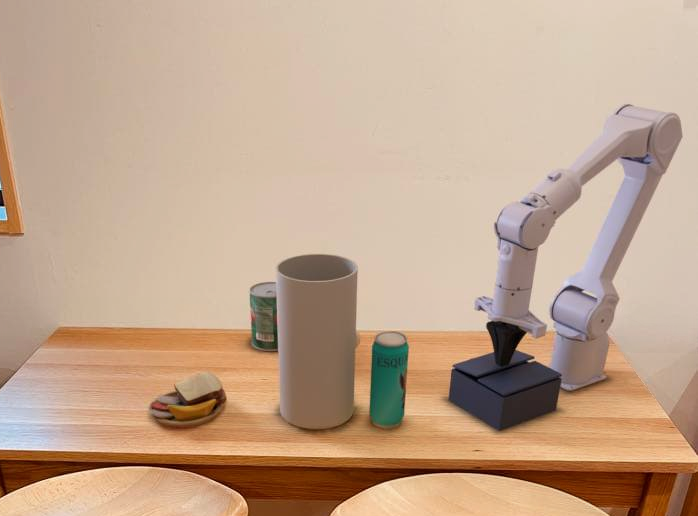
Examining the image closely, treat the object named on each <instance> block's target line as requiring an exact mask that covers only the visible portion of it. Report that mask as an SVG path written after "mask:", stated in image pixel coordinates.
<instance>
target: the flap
mask: <svg viewBox="0 0 698 516" xmlns="http://www.w3.org/2000/svg"><path fill="white" fill-rule="evenodd" d="M534 359H536V357H535V356H534V355H531V354H529V353H525V352H522V351H520V350H517V349H516V350H515V352H514V354H513V356H512V359H511V361H510V364H507V365H504V366H499V365H497V364H496V363H495V356H494V351H492V352H489V353H485V354H482V355H479V356H475V357H473V358H470V359H466V360H464V361H460V362H456V363H454V364H452V366H451V367H452V368H453V369H454V368H456V369H459V370H461V371H464V372H466V373H468V374H471V375H473V376H476V377H479V376H483V375H486V374H489V373H492V372H495V371H498V370H501V369H504V368H507V367H510V366H513V365H517V364H520V363H523V362H526V361H528V362H530V361H533V360H534Z"/></svg>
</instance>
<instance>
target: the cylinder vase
mask: <svg viewBox="0 0 698 516" xmlns="http://www.w3.org/2000/svg"><path fill="white" fill-rule="evenodd" d="M358 268H359V266H358V264H357V263H356V262H355V261H354V260H352V259H350V258H348V257H345V256H341V255H337V254H330V253H307V254H305V253H304V254H300V255H294V256H290V257H287V258H285V259H283V260H281V261H279V262H278V263H277V264H276V266H275V282H276V295H277V328H278V351H277V354H278V355H277V356H278V359H277V361H278V390H279V412H280V414H281V417H282V418H283V419H284V421H286V422H287V423H289V424H291V425H293V426H295V427H298V428H303V429H306V430H307V429H308V430H326V429H331V428H332V429H333V428H335V427H339V426H341V425H342V424H344V423H346V422H347V421H348V420H350V418H351V417H352V416H353V414H354V411H355V381H356V380H355V377H356V349H355V346H356V330H357V309H358V307H357V306H358V273H359V272H358V271H359V269H358Z"/></svg>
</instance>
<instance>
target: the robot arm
mask: <svg viewBox="0 0 698 516" xmlns="http://www.w3.org/2000/svg"><path fill="white" fill-rule="evenodd" d="M602 128H603V129H602V132H601V133H600V134H599V136H597V137H596V138H595V139H594V141H592V142H591V144H590V145H589V146H588V147H587V148H586V149H585V150H584V151H583V152H582V153H581V154H580V155H579V156H578V157H577V158H576V159H575V160H574V162H573V163H571V164H570V166H569V167H568V168H567V169H566V168H556V169H554V170H551V171H550V172H549V173H548V174H547V175H546V178H544V179H543V180H542V181H541V182H540V183H539V184H538V185H537V186H535V187H534V188H533V189H531V191H530V192H529V193H527V195H525V197H523V198H522V199H521V200H520V201H513V202H511V203H509V204H506V205H504V207H503V208H502V209H501V210H500V212H499V213H498V216H497V219H496V221H495V222H494V223H493V231H494V234H495V236H496V238H497V246H496V248H497V250H498V252H499V254H498V261H497V269H496V274H495V275H496V276H495V283H494V292H493V298H492V297H489V296H486V295H481V296H478V297H475V299H474V306H473V309H474V310H475V311H478V312H480V311H482V312H484V313H486V314H487V319H488V320H490V321H488V322H486V324H485V325H486V326H485V327H486V331H487V332H488V334H489V337H490V340H491V343H492V348H493V352H494V356H495V363H496V364H497V365H499V366H504V365H507V364H510V361H511V359H512V356H513V354H514V352H515V350H517V348H518V346H519V345H520V342H522V339H523V338H524V337H525V336H526V334H527V333H528V334H530V335H531V337H532V338H534V339H536V340H537V339H539V338H543V337H545V336H546V334H547V328H548V324H547V323H546V322H544V321H542V320H541V319H539V318H538V317H537V316H536V315H535V314H534V313H532V311H531V310H529V309H530V304H531V297H532V291H533V284H534V277H535V272H536V271H535V270H536V265H537V260H538V258H537V257H538V252H539V247H540V246H541V245H543V244H544V243H545V242H546V240H547V239H548V237H549V235H550V233H551V230H552V228H553V227H554V226H555V224H556V223H557V222H556V221H557V220H558V219H559V218H560V217H561V216H562V215H563V214H565V213H566V212H567V211H568V210H569V209H570V208H571V207H572V206H574V204H576V203H577V202H578V201H579V200H580V199H581V196H582V189H583V186H585V185H586V184H587V183H588V182H590V181H591V180H592V179H594V178H595V177H597V176H598V175H599V174H600V173H601V172H603V171H604V170H605V169H606V168H608V167H609V166H610V165H612V164H613V163H614V162H615V161H618V163H619V164H621V166H622V169H623V172H624V177H623V180H622V182H621V183H620V185H619V188H618V191H617V193H616V195H615V197H614V199H613V201H612V204H611V206H610V208H609V210H608V212H607V214H606V217H605V218H604V221H603V224H602V226H601V227H600V230H599V232H598V234H597V237H596V239H595V241H594V243H593V245H592V246H591V250H590V252H589V254H588V256H587V258H586V260H585V263H584V265H583V266H582V269H581V270H580V271H578V272H576V273H574V274H571V275H569V276H568V277H566V278H565V279H564V281H563V284H562V286H561V287H560V289H559V290H558V291H557V292H556V293H555V295H554V296H553V297H552V299H551V302H550V305H549V310H548V311H549V312H548V313H549V317H550V319H551V321H553V328H554V329H555V334H554V335H555V336H554V339H553V347H552V352H551V358H550V364H549V368H551V369H553V370H555V371H557V372H559V373H561V374H562V376H561V377H559V378H561V379H562V380H561V386H560V389H561V388H562V389H563V390H565V391H567V392H573V391H575V390H577V389H580V388H584V387H586V386H589V385H592V384H595V383H598V382H601V381H604V380H606V379H607V375H606V374H604V371H605V366H606V362H607V358H608V353H609V349H610V337H609V334H608V331H609V329H610V328H611V326H612V324H613V322H614V320H615V315H616V314H615V313H616V309H617V306H618V303H619V301H620V296H619V295H620V294H619V293H618V292H617V290H616V287H615V285H614V283H613V281H614V278H615V277H616V275H617V272H618V270H619V268H620V266H621V264H622V261H623V260H624V258H625V255H626V253H627V251H628V249H629V247H630V245H631V243H632V241H633V239H634V236H635V234H636V232H637V230H638V229H639V226H640V224H641V222H642V220H643V217H644V215H645V213H646V211H647V209H648V207H649V205H650V203H651V201H652V199H653V196H654V194H655V192H656V190H657V188H658V186H659V184H660V182H661V180H662V177H663V175H665V174H666V173H667V170H668V168H669V166H670V164H671V162H672V160H673V158H674V156H675V154H676V151H677V149H678V148H679V145H680V144H681V141H682V139H683V136H684V135H683V129H682V121H681V119H680V116H679V115H678V114H677V113H675V112H672V111H669V112H668V111H667V112H666V111H660V110H655V109H651V108H645V107H641V106H635V105H634V104H630V103H623V104H621V105H619V106H618V107H617V108H616V109H615V110H614V112H613V113H612V114H611V115H609V116H608V117H606V119H605V121H604V125H603V127H602ZM584 291H586V292H588V293H585V292H584ZM589 293H591V294H593V296H592V295H590V294H589ZM594 295H595V296H594Z"/></svg>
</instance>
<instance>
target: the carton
mask: <svg viewBox="0 0 698 516" xmlns="http://www.w3.org/2000/svg"><path fill="white" fill-rule="evenodd" d="M450 371H451V373H450V381H449V389H448V391H449V392H448V399H447V400H448V401H449V402H450V403H452V404H454V405H456V406H457V407H458V408H460V409H462V410H464V411H465V412H467V413H469V414H470V415H472V416H473V417H475V418H476V419H479V420H480V421H482V422H483V423H484V424H487V425H488V426H490V427H492V429H494V430H496V431H499V432H500V431H503V430H505V429H509V428H511V427H515V426H517V425H519V424H522V423H526V422H528V421H530V420H533V419H536V418H539V417H541V416H544V415H547V414H550V413H552V412H555V411H557V406H558V400H559V395H560V391H561V387H560V386H561V380H562V379H561V378H559V377H561V376H562V374H561V373H559V372H557V371H555V370H553V369H551V368H550V366H549V367H548V366H547V365H544V364H543V363H541V362H539V361H537V360H531V361H526V362H523V363H520V364H517V365H513V366H510V367H507V368H504V369H501V370H498V371H495V372H492V373H489V374H486V375H483V376H479V377H476V376H473V375H471V374H468V373H466V372H464V371H461V370H459V369H456V368H454V367H453V368H451V370H450Z"/></svg>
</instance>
